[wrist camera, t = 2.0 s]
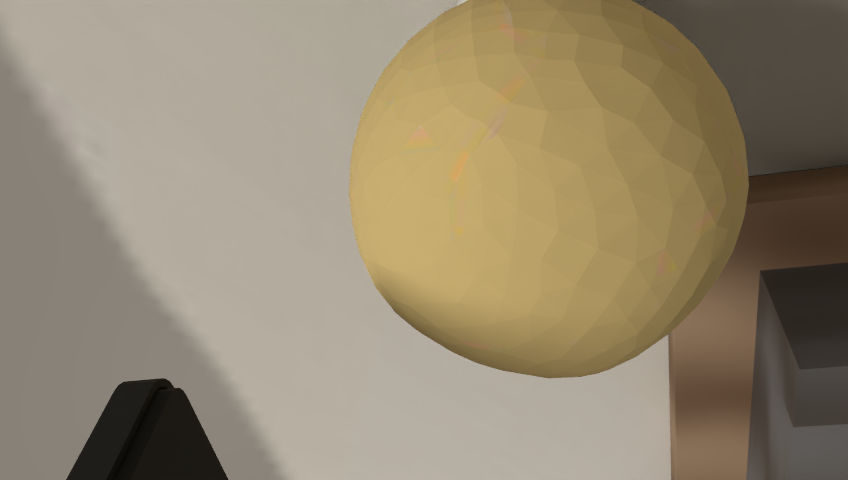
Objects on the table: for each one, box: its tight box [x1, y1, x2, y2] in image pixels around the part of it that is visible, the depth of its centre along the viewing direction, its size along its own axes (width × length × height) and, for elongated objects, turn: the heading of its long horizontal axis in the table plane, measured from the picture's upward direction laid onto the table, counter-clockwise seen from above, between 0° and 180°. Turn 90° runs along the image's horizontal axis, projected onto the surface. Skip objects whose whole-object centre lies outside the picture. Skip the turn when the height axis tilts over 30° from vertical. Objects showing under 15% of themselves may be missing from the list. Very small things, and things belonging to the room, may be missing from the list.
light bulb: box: [349, 0, 749, 378], centre depth 15 cm, size 6×6×10 cm
